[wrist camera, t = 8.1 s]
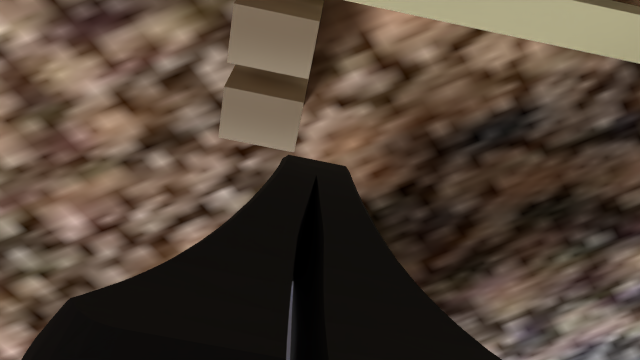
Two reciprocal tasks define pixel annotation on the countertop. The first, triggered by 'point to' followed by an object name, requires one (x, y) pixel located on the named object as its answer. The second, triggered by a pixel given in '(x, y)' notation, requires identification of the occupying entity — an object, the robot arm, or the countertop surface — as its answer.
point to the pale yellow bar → (540, 21)
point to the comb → (269, 70)
